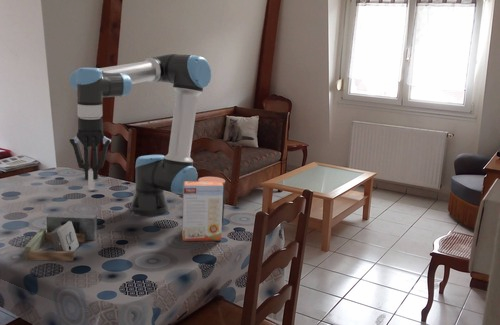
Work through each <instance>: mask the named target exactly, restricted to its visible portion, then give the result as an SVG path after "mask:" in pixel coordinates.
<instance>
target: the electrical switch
mask: <svg viewBox="0 0 500 325" xmlns="http://www.w3.org/2000/svg"><path fill="white" fill-rule="evenodd" d="M51 237H52V240H53V241H52V243H53V246H54V249H55V251H76V249H78V248H79V245H80V244H79V242H78V240H77V237H76V234H75V231H74V227H73V224H72V222H71V221H68V222H67V223H66V224H64V225H61V226H59V227H58V228H57V229H55V230H54V231H53V232H52V234H51Z"/></svg>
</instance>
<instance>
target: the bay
mask: <svg viewBox="0 0 500 325" xmlns="http://www.w3.org/2000/svg"><path fill="white" fill-rule="evenodd" d="M51 234H52V233H48V232H47V228H41V229H40V230H39V231H38V232H37V233H35V235H34V236H33V237H31V239H30V240H29V241H28V243H27V244H26V245H25V246H24V256H25V260H27V261H28V260H29V261H31V260H32V261H66V262H72V261H74V258H75V252H74V251H75V250H74V251H56V250H39V249H40V248H42V246H43V245H44V243H45V242H53V240H52V237H51ZM75 234H76V237H77V240H78V243H85V242H86V240H85V234H81V233H79V234H77V233H75Z"/></svg>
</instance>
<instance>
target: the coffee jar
mask: <svg viewBox="0 0 500 325" xmlns="http://www.w3.org/2000/svg"><path fill="white" fill-rule="evenodd" d="M197 182H222V184H223V209H222V225H223V224H224V216H225V214H224V213H225V199H226V198H225V196H226V195H225V194H226V187H225V185H226V180H225V179H224V178H222V177H219V176H203V177H199V178H197Z"/></svg>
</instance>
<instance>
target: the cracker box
mask: <svg viewBox="0 0 500 325" xmlns="http://www.w3.org/2000/svg"><path fill="white" fill-rule="evenodd" d="M222 209H223V184H222V182H198V181H196V182H190V181H184V184H183V194H182V222H181V223H182V232H181V233H182V234H181V235H182V241H183V242H190V241H191V242H193V241H194V242H196V241H197V242H198V241H199V242H200V241H201V242H202V241H204V242H205V241H209V242H211V241H218V242H219V241H222V230H223V229H222V228H223V227H222V226H223V224H222Z"/></svg>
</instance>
